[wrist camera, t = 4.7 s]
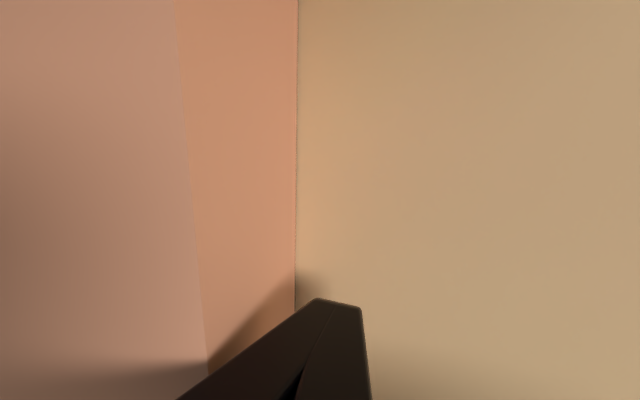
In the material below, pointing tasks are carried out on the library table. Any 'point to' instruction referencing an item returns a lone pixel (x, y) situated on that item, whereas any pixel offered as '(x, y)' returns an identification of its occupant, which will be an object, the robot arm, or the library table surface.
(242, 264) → the t block
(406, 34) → the library table surface
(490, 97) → the library table surface
